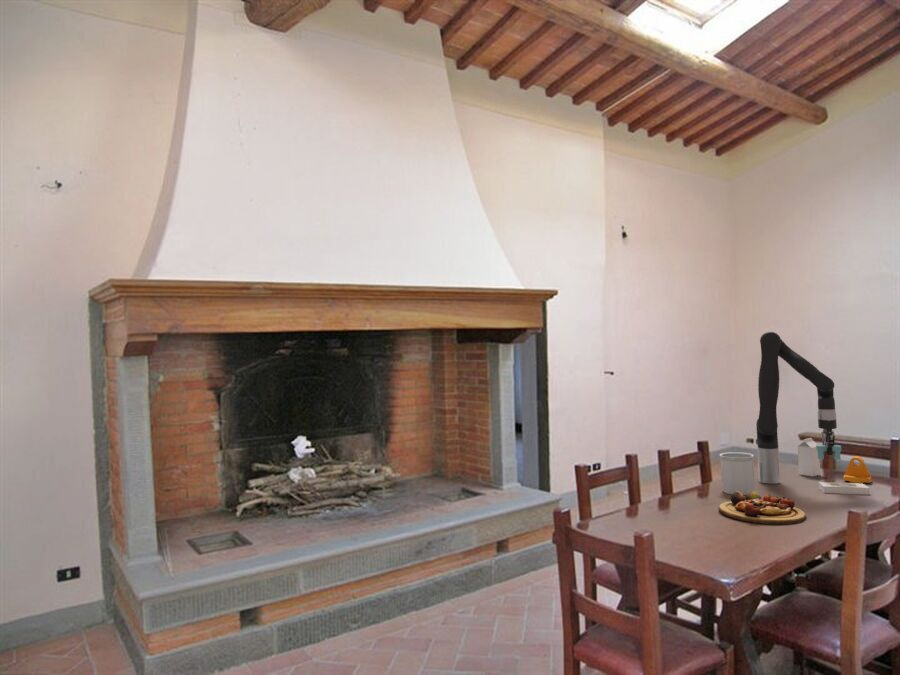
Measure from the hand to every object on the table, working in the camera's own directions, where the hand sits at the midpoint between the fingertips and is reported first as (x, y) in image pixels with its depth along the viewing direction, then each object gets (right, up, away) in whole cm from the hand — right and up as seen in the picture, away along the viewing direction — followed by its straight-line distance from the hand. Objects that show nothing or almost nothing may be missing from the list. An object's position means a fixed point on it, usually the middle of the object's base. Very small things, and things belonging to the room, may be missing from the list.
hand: (828, 454), depth 293 cm
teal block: (0, -2, 0) cm, 2 cm away
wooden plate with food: (-55, -17, -43) cm, 72 cm away
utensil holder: (-46, -17, -5) cm, 50 cm away
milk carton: (+5, -16, +24) cm, 29 cm away
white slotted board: (0, -15, -12) cm, 19 cm away
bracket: (+18, -15, +6) cm, 24 cm away
